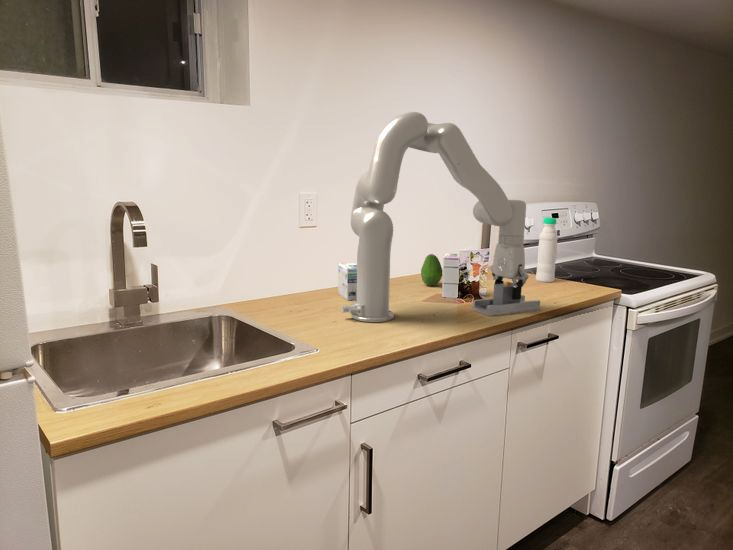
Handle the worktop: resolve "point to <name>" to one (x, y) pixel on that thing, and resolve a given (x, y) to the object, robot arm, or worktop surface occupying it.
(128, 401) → the worktop surface
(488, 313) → the rail
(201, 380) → the worktop surface
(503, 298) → the block
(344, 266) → the light bulb box
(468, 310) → the worktop surface
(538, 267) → the milk bottle
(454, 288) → the syrup box
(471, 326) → the worktop surface
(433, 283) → the avocado
